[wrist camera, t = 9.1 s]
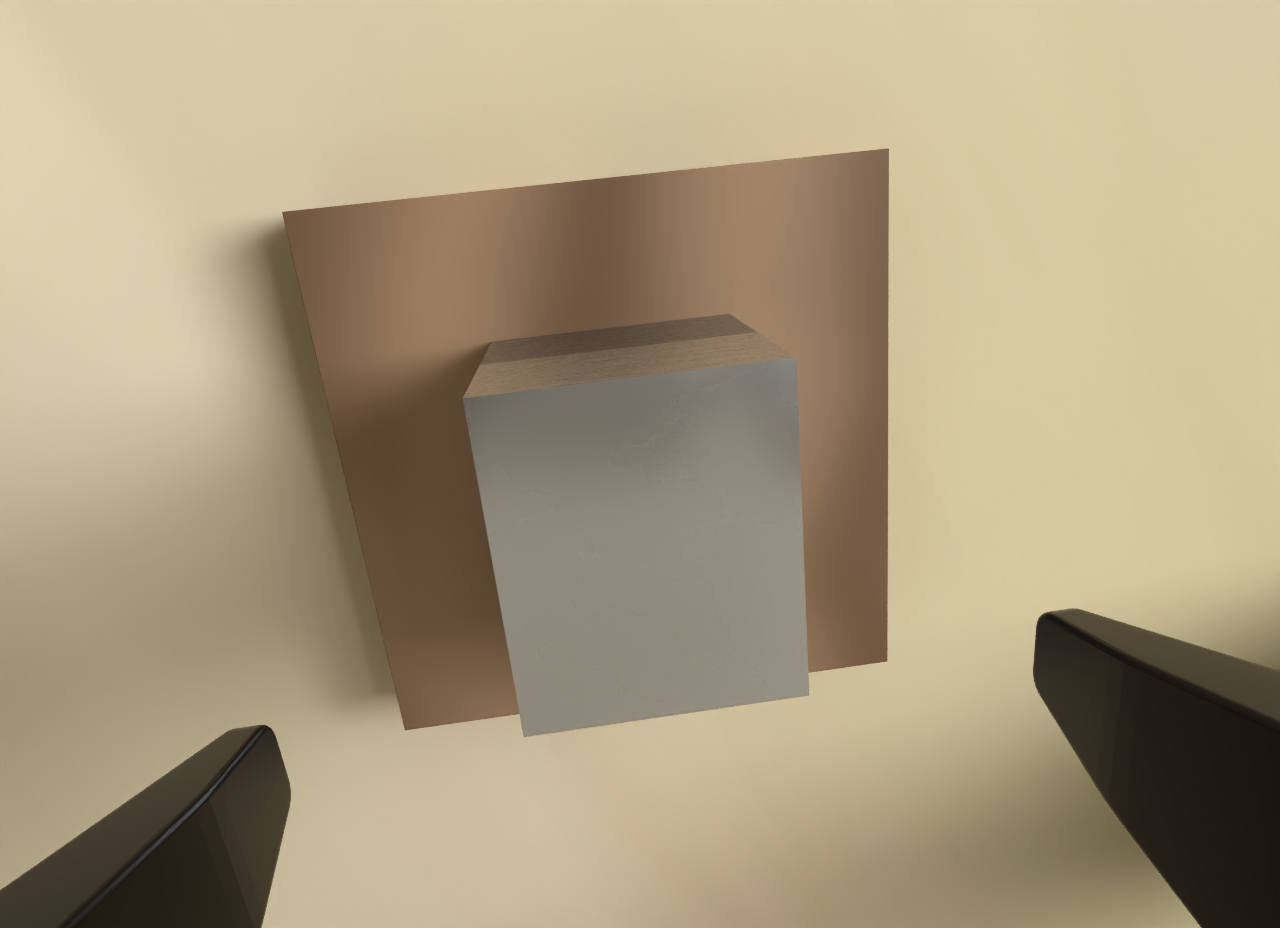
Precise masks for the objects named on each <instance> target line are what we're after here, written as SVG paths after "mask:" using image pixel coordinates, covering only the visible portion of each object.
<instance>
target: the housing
mask: <svg viewBox="0 0 1280 928" xmlns="http://www.w3.org/2000/svg"><path fill="white" fill-rule="evenodd" d="M463 403H464V408H465V414H466V419H467V425H468V430H469V436H470V442H471V447H472V453H473V458H474V464H475V469H476V475H477V480H478V486H479V491H480V497H481V502H482V508H483V513H484V519H485V524H486V530H487V536H488V541H489V547H490V552H491V558H492V563H493V569H494V574H495V580H496V585H497V591H498V596H499V602H500V607H501V613H502V619H503V624H504V630H505V635H506V641H507V646H508V652H509V657H510V663H511V668H512V674H513V679H514V685H515V690H516V696H517V702H518V707H519V713H520V718H521V724H522V729H523V735H524V737H527V736H534V735H541V734H548V733H555V732H561V731H568V730H575V729H582V728H589V727H596V726H602V725H609V724H616V723H623V722H630V721H637V720H644V719H650V718H657V717H664V716H671V715H678V714H685V713H692V712H698V711H705V710H712V709H719V708H726V707H733V706H739V705H746V704H753V703H760V702H767V701H774V700H781V699H787V698H794V697H801V696H808V695H809V678H808V652H807V625H806V598H805V571H804V545H803V518H802V491H801V464H800V438H799V411H798V384H797V358H796V357H794V356H793V355H791V354H790V353H788V352H787V351H785V350H784V349H782V348H781V347H779V346H778V345H776V344H775V343H773V342H772V341H770V340H769V339H767V338H766V337H764V336H763V335H761V334H760V333H758V332H756V331H755V330H753V329H752V328H750V327H749V326H747V325H746V324H744V323H743V322H741V321H740V320H738V319H737V318H735V317H734V316H732V315H731V314H722V315H714V316H705V317H697V318H688V319H680V320H671V321H663V322H654V323H646V324H637V325H629V326H620V327H612V328H603V329H595V330H586V331H577V332H569V333H560V334H552V335H543V336H535V337H526V338H518V339H509V340H501V341H492V342H491V344H490V346H489V348H488V350H487V352H486V354H485V356H484V358H483V360H482V362H481V364H480V366H479V368H478V369H477V371H476V373H475V375H474V377H473V379H472V381H471V383H470V385H469V387H468V389H467V391H466V393H465V395H464V397H463Z"/></svg>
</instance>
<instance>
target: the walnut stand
mask: <svg viewBox="0 0 1280 928" xmlns="http://www.w3.org/2000/svg"><path fill="white" fill-rule="evenodd" d="M888 206H889V149H880V150H870V151H860V152H851V153H841V154H832V155H822V156H813V157H803V158H794V159H784V160H775V161H765V162H755V163H746V164H736V165H727V166H717V167H708V168H698V169H689V170H679V171H669V172H660V173H650V174H641V175H631V176H622V177H612V178H603V179H593V180H583V181H574V182H564V183H555V184H545V185H536V186H526V187H517V188H507V189H498V190H488V191H478V192H469V193H459V194H450V195H440V196H431V197H421V198H412V199H402V200H392V201H383V202H373V203H364V204H354V205H345V206H335V207H326V208H316V209H306V210H297V211H287V212H282V214H283V218H284V222H285V226H286V230H287V235H288V239H289V243H290V247H291V252H292V256H293V260H294V264H295V268H296V273H297V277H298V281H299V285H300V289H301V294H302V298H303V302H304V306H305V311H306V315H307V319H308V323H309V327H310V332H311V336H312V340H313V344H314V348H315V353H316V357H317V361H318V365H319V370H320V374H321V378H322V382H323V386H324V391H325V395H326V399H327V403H328V407H329V412H330V416H331V420H332V424H333V429H334V433H335V437H336V441H337V445H338V450H339V454H340V458H341V462H342V466H343V471H344V475H345V479H346V483H347V488H348V492H349V496H350V500H351V504H352V509H353V513H354V517H355V521H356V525H357V530H358V534H359V538H360V542H361V547H362V551H363V555H364V559H365V563H366V568H367V572H368V576H369V580H370V584H371V589H372V593H373V597H374V601H375V606H376V610H377V614H378V618H379V622H380V627H381V631H382V635H383V639H384V643H385V648H386V652H387V656H388V660H389V665H390V669H391V673H392V677H393V681H394V686H395V690H396V694H397V698H398V702H399V707H400V711H401V715H402V719H403V724H404V728H405V730H410V729H417V728H424V727H431V726H438V725H445V724H452V723H459V722H466V721H473V720H480V719H487V718H494V717H501V716H508V715H515V714H520V713H519V707H518V702H517V696H516V690H515V685H514V679H513V674H512V668H511V663H510V657H509V652H508V646H507V641H506V635H505V630H504V624H503V619H502V613H501V607H500V602H499V596H498V591H497V585H496V580H495V574H494V569H493V563H492V558H491V552H490V547H489V541H488V536H487V530H486V524H485V519H484V513H483V508H482V502H481V497H480V491H479V486H478V480H477V475H476V469H475V464H474V458H473V453H472V447H471V442H470V436H469V430H468V425H467V419H466V414H465V408H464V403H463V397H464V395H465V393H466V391H467V389H468V387H469V385H470V383H471V381H472V379H473V377H474V375H475V373H476V371H477V369H478V368H479V366H480V364H481V362H482V360H483V358H484V356H485V354H486V352H487V350H488V348H489V346H490V344H491V342H492V341H501V340H509V339H518V338H526V337H535V336H543V335H552V334H560V333H569V332H577V331H586V330H595V329H603V328H612V327H620V326H629V325H637V324H646V323H654V322H663V321H671V320H680V319H688V318H697V317H705V316H714V315H722V314H731V315H732V316H734V317H735V318H737V319H738V320H740V321H741V322H743V323H744V324H746V325H747V326H749V327H750V328H752V329H753V330H755V331H756V332H758V333H760V334H761V335H763V336H764V337H766V338H767V339H769V340H770V341H772V342H773V343H775V344H776V345H778V346H779V347H781V348H782V349H784V350H785V351H787V352H788V353H790V354H791V355H793V356H794V357H796V358H797V384H798V411H799V438H800V464H801V491H802V518H803V545H804V571H805V598H806V625H807V652H808V673H809V672H816V671H823V670H830V669H837V668H844V667H851V666H858V665H865V664H872V663H879V662H886V661H887V576H888Z"/></svg>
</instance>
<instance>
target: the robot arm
mask: <svg viewBox="0 0 1280 928" xmlns="http://www.w3.org/2000/svg"><path fill="white" fill-rule="evenodd" d="M1033 676H1034V682H1035V685H1036V688H1037V690H1038V693H1039V694H1040V696H1041V698H1042V699H1043V701H1044V703H1045V704H1046V706H1047V708H1048V709H1049V711H1050V712H1051V714H1052V716H1053V717H1054V719H1055V721H1056V722H1057V724H1058V725H1059V727H1060V729H1061V730H1062V732H1063V733H1064V735H1065V737H1066V738H1067V740H1068V742H1069V743H1070V745H1071V746H1072V748H1073V750H1074V751H1075V753H1076V755H1077V756H1078V758H1079V759H1080V761H1081V763H1082V764H1083V766H1084V767H1085V769H1086V771H1087V772H1088V774H1089V776H1090V777H1091V779H1092V780H1093V782H1094V784H1095V785H1096V787H1097V788H1098V790H1099V791H1100V793H1101V794H1102V796H1103V797H1104V799H1105V800H1106V802H1107V803H1108V805H1109V806H1110V808H1111V809H1112V810H1113V812H1114V813H1115V814H1116V816H1117V817H1118V819H1119V820H1120V821H1121V823H1122V824H1123V825H1124V827H1125V828H1126V829H1127V831H1128V832H1129V833H1130V835H1131V836H1132V837H1133V839H1134V840H1135V841H1136V843H1137V844H1138V845H1139V846H1140V848H1141V849H1142V850H1143V852H1144V853H1145V854H1146V856H1147V857H1148V858H1149V860H1150V861H1151V862H1152V864H1153V865H1154V866H1155V867H1156V869H1157V870H1158V871H1159V873H1160V874H1161V875H1162V877H1163V878H1164V879H1165V881H1166V882H1167V883H1168V885H1169V886H1170V887H1171V888H1172V890H1173V891H1174V892H1175V894H1176V895H1177V896H1178V898H1179V899H1180V900H1181V902H1182V903H1183V904H1184V906H1185V907H1186V908H1187V909H1188V911H1189V912H1190V913H1191V915H1192V916H1193V917H1194V919H1195V920H1196V921H1197V923H1198V924H1199V925H1200V927H1201V928H1280V671H1277V670H1274V669H1271V668H1268V667H1264V666H1261V665H1258V664H1255V663H1252V662H1248V661H1245V660H1242V659H1239V658H1235V657H1232V656H1229V655H1226V654H1222V653H1219V652H1216V651H1213V650H1210V649H1206V648H1203V647H1200V646H1197V645H1193V644H1190V643H1187V642H1184V641H1181V640H1177V639H1174V638H1171V637H1168V636H1164V635H1161V634H1158V633H1155V632H1151V631H1148V630H1145V629H1142V628H1139V627H1135V626H1132V625H1129V624H1126V623H1122V622H1119V621H1116V620H1113V619H1109V618H1106V617H1103V616H1100V615H1097V614H1093V613H1090V612H1087V611H1084V610H1080V609H1065V610H1058V611H1051V612H1046V613H1044V614H1042V615H1041V616H1040V617H1039V619H1038V621H1037V626H1036V639H1035V652H1034V666H1033ZM290 801H291V788H290V782H289V779H288V775H287V772H286V769H285V765H284V762H283V759H282V756H281V752H280V749H279V746H278V742H277V739H276V736H275V734H274V732H273V731H272V729H271V728H270V727H268V726H266V725H257V726H250V727H243V728H236V729H232V730H229V731H227V732H226V733H224V734H223V735H221V736H220V737H219V738H217V739H216V740H214V741H213V742H211V743H210V744H209V745H207V746H206V747H204V748H203V749H201V750H200V751H199V752H197V753H196V754H194V755H193V756H191V757H190V758H189V759H187V760H186V761H184V762H183V763H181V764H180V765H179V766H177V767H176V768H174V769H173V770H171V771H170V772H169V773H167V774H166V775H164V776H163V777H161V778H160V779H159V780H157V781H156V782H154V783H153V784H151V785H150V786H149V787H147V788H146V789H144V790H143V791H141V792H140V793H139V794H137V795H136V796H134V797H133V798H131V799H130V800H129V801H127V802H126V803H124V804H123V805H121V806H120V807H119V808H117V809H116V810H114V811H113V812H111V813H110V814H109V815H107V816H106V817H104V818H103V819H101V820H100V821H99V822H97V823H96V824H94V825H93V826H91V827H90V828H89V829H87V830H86V831H84V832H83V833H81V834H80V835H79V836H77V837H76V838H74V839H73V840H71V841H70V842H69V843H67V844H66V845H64V846H63V847H61V848H60V849H59V850H57V851H56V852H54V853H53V854H51V855H50V856H49V857H47V858H46V859H44V860H43V861H41V862H40V863H39V864H37V865H36V866H34V867H33V868H31V869H30V870H29V871H27V872H26V873H24V874H23V875H21V876H20V877H19V878H17V879H16V880H14V881H13V882H11V883H10V884H9V885H7V886H6V887H4V888H3V889H1V890H0V928H261V927H262V923H263V919H264V915H265V911H266V907H267V902H268V898H269V894H270V889H271V885H272V881H273V877H274V872H275V868H276V864H277V859H278V855H279V851H280V846H281V842H282V838H283V834H284V829H285V825H286V821H287V816H288V812H289V808H290Z"/></svg>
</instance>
